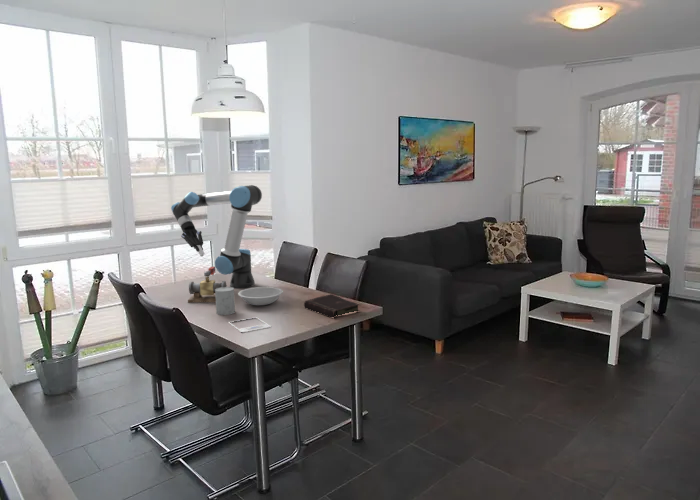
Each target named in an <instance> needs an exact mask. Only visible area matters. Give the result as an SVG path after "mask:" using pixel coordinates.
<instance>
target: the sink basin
mask: <svg viewBox="0 0 700 500" xmlns="http://www.w3.org/2000/svg"><path fill="white" fill-rule="evenodd" d="M283 293H284V291H283V290H282V289H281V288H279V287H273V286H257V287H256V286H255V287H254V286H253V287H247V288H243V289H242V290H240V291H239V292H238V293H237V296H239V297H241V298H242V300H243V301H244V302H245V303H247V304H249V305H252V306H265V305H270V304H272V303H274V302H275V301H277V300H278V299H279V297H280V296H282V294H283Z"/></svg>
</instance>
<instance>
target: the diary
mask: <svg viewBox="0 0 700 500" xmlns="http://www.w3.org/2000/svg"><path fill="white" fill-rule="evenodd" d="M303 306H304V308H305V309H306V308H308V309H307V310H309V309H311V310H310V311H312V310H313V311H312V312H314V311H316V312H315V313H317V312H319V313H322V314H325V315H328V316H330V317H334V316H336V315H337V316H338V315H342V314H345V313H349V312H354V311H359V306H361V304H360V303H357V302H353V301H350V300H347V299H344V298H343V297H340V296H338V295H335V294H332V293H331V294H327V295H322V296H318V297H315V298H311V299H307V300H304V303H303ZM319 313H318V314H319ZM322 314H321V315H322ZM325 315H324V316H325ZM328 316H327V317H328ZM330 317H329V318H330ZM334 318H335V317H334Z"/></svg>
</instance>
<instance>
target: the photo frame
mask: <svg viewBox="0 0 700 500" xmlns="http://www.w3.org/2000/svg"><path fill="white" fill-rule="evenodd" d="M252 318H253V319H256V320H257V321H259V320H260V321H259V322H261V323H262V322H263V323H262V324H257V325H252V326H247V327H242V328H239V327H237V325H235V324H233V323H235V322H234V321H235V320H233V321H227V322H228V325H230V324H231V325H230V326H231V327H233V326H234V327H235V328H234V327H233V328H234V329H236V330H237V329H238V330H239V331H240V333H241V332H246V333H249V332H248V331H251V332H253V331H252V330H256V331H258V330H257V329H261V330H264V329H263V328H266V329H270V328H269V327H271V328H272V326H271V325H270V324H268V323H267V322H265V321H264V320H262V319H261V318H259V317H258V316H254V317H249V318H244V319H238V320H236V321H237V322H241V321H240V320H242V321H246V319H248V320H252ZM230 322H231V323H230ZM238 330H237V331H238ZM239 331H238V332H239Z"/></svg>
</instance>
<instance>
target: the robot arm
mask: <svg viewBox="0 0 700 500" xmlns="http://www.w3.org/2000/svg"><path fill="white" fill-rule="evenodd" d="M262 197H263V193H262V190H261V189H260V187H258V186H257V185H253V184H251V185H239V186H236V187H234V188H232V190H228V191H220V192H219V191H218V192H210V193H202V194H201V193H200V194H197V193H196V192H193V191H189V192H188V193H187V194H186V195H185V196H184V197H183V199H182V200H181V201H178V202H174V204H172V205H171V208H170V209H171V211H172V214H173V216H174V217H175V219H176V221H177V223H178V225H179V227H180V229H181V231H182V234H181V235H180V236H181V238H182V239H184V241H185V242H186V243H187V244H188V245H189V246H190V247H191V248H193V250H195V251H196V252H197V253H198V254H199V257H204V255H205V252H204V248H203V245H204V239H203V235H202V231H201V230H200V231H199V230H197V229H196V226H195V224H194V223H193V221H192V219H191V217H190V215H189V213H190V211H192V210H193V209H194V208H199V207H210V206H217V205H228V204H230V208H231V209H232V211H231V212H232V213H231V215H230V220H229V221H230V222H229V225H228V226H229V227H228V230H227V234H226V240H225V244H224V247H223V248H221V250H220V254H219V255H218V256H217V257H216V258H215V260H214V267H215V269H216V271H217V272H218V273H219V274H222V275H230V274H231V278H230V282H229V287H233V288H234V289H235V288H236V289H247V288H252V287H254V286H255V285H256V284H255V279H254V275H253V273H252V255H251V251H250V250H249V249H247V248H240V247H241V244H242V239H243V234H244V230H245V226H246V221H247V218H248V214H249V213H251V212H252V207H253V206H254V205H257V204H259V203H260V202H261V200H262Z"/></svg>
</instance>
